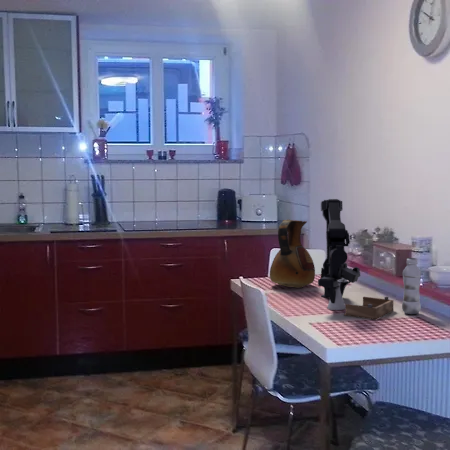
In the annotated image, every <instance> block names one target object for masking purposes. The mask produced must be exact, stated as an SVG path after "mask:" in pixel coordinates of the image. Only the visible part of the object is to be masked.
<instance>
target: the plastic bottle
mask: <svg viewBox="0 0 450 450" xmlns="http://www.w3.org/2000/svg"><path fill="white" fill-rule="evenodd" d="M421 272H422V271H421V270H420V268H419V266H418V258H415V257H408V258H406V266H405V267H404V269H403V270H402V280H403V296H402V297H403V298H402V303H401V307H402V308H401V309H402V311H403V313H404V314H407V315H408V314H409V315H417V314H419V313H420V312H421V307H422V306H421V301H420V282H421V277H422V273H421Z"/></svg>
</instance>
